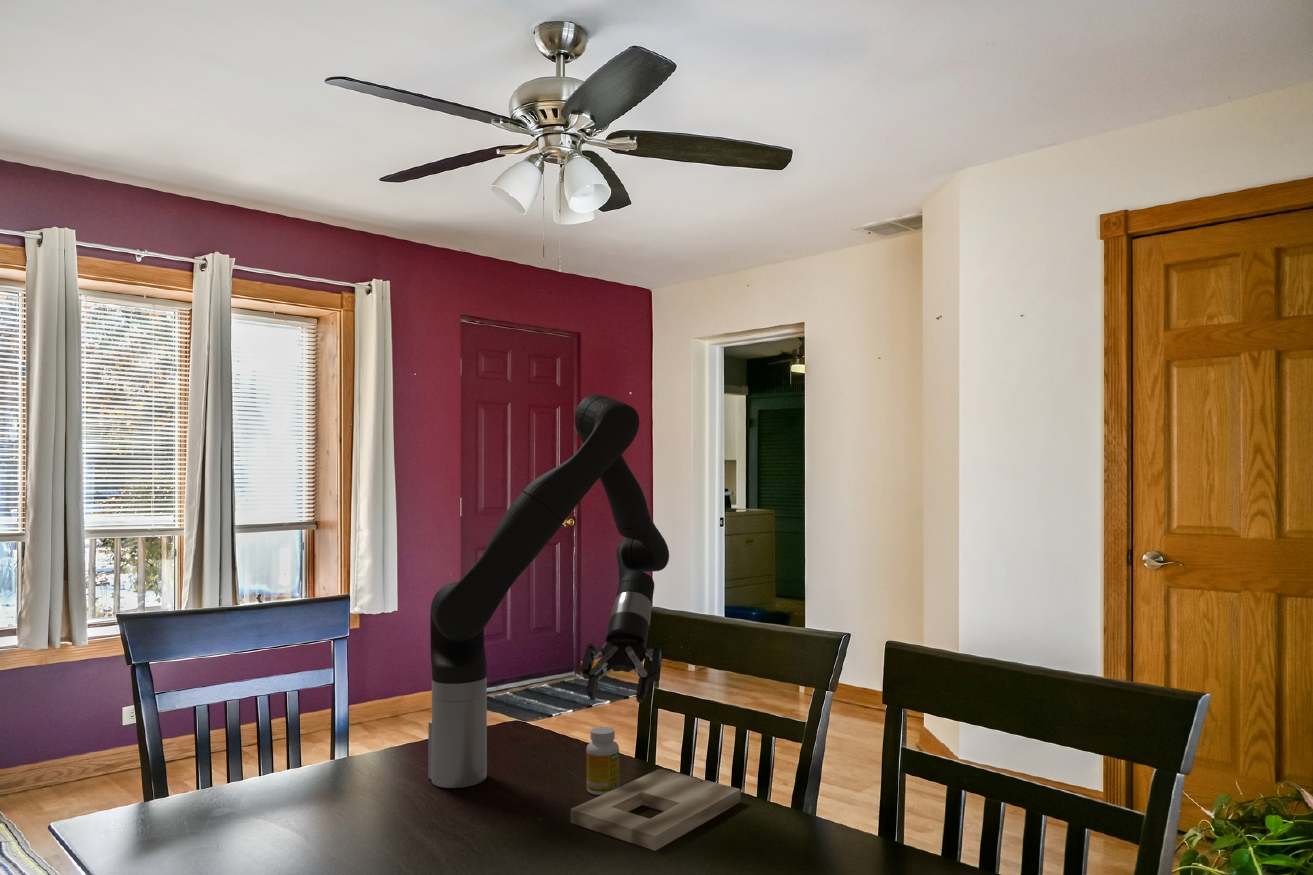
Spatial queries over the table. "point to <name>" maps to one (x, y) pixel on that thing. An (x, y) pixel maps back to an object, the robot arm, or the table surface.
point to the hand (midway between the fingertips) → (615, 698)
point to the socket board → (662, 791)
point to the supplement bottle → (602, 761)
